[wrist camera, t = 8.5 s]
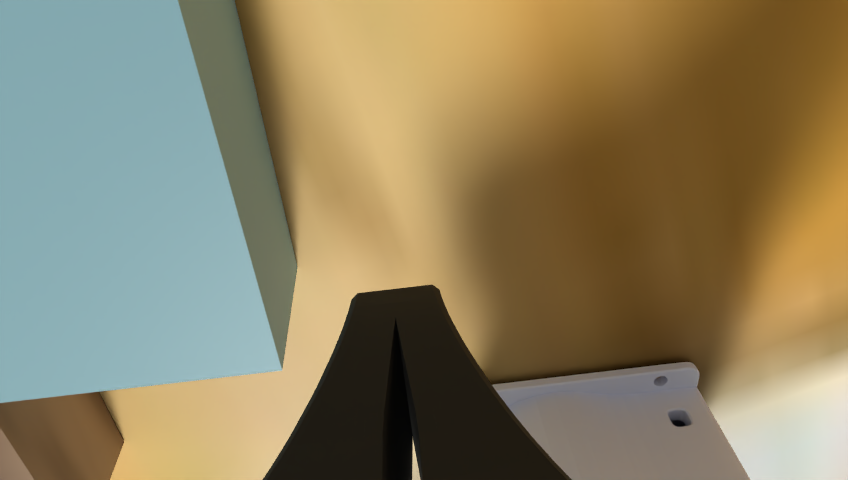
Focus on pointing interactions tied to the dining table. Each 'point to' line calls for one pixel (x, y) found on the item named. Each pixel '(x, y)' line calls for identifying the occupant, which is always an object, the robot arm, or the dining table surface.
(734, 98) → the dining table surface
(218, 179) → the block
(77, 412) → the board
